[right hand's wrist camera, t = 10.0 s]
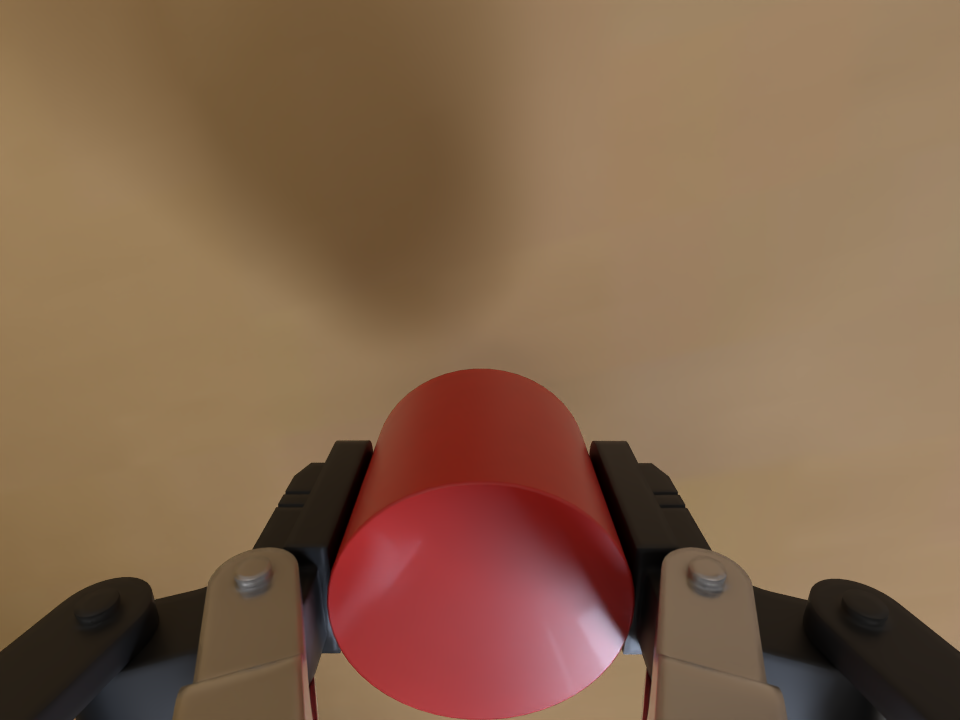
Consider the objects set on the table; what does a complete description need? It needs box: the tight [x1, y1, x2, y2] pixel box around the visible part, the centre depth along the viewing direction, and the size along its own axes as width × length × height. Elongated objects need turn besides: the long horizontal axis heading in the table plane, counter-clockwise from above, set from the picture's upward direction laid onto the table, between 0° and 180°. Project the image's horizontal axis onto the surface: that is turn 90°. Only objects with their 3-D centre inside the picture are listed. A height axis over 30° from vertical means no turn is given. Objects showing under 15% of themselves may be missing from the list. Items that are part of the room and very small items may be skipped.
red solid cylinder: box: [327, 369, 635, 720], centre depth 11 cm, size 5×5×4 cm
